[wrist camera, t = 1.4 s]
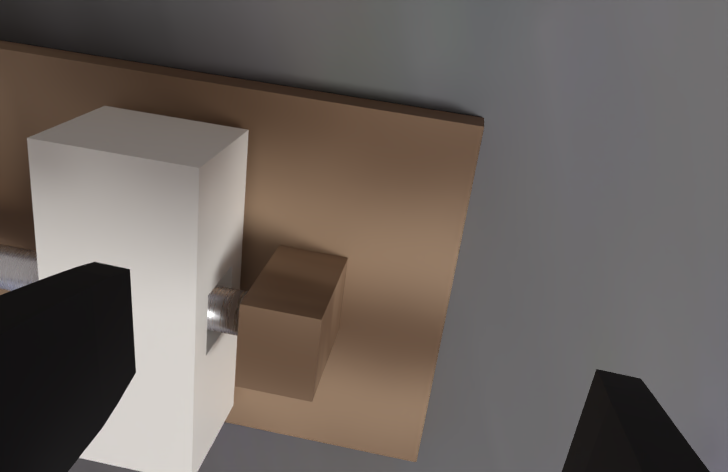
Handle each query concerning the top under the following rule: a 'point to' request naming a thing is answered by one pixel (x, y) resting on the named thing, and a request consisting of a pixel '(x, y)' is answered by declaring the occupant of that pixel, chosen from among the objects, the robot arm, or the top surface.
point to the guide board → (295, 233)
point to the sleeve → (151, 264)
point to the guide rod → (21, 268)
